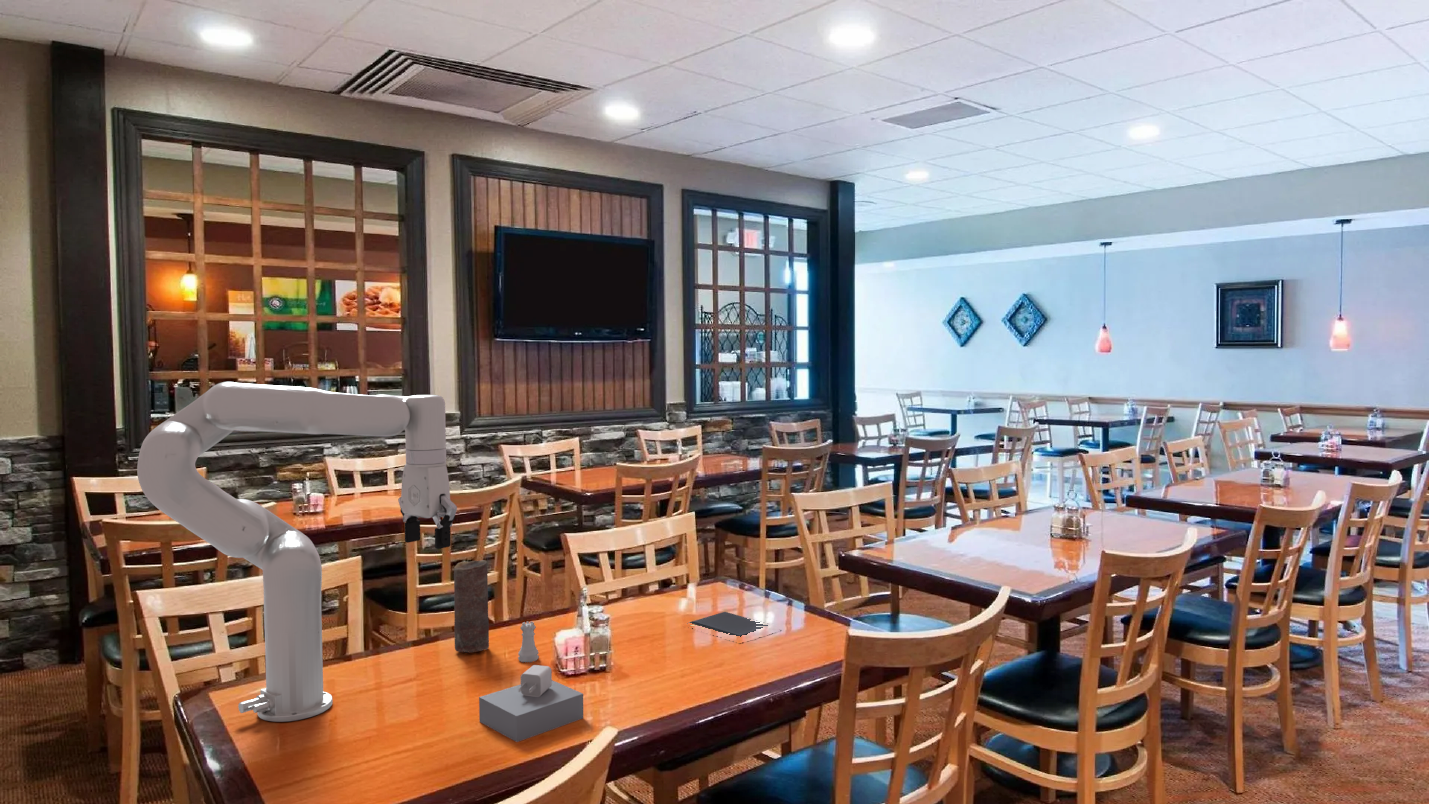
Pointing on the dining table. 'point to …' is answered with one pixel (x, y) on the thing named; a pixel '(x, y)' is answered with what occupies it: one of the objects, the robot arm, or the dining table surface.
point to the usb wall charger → (536, 680)
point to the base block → (530, 710)
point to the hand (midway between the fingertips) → (427, 544)
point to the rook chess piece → (528, 643)
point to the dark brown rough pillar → (471, 606)
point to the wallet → (728, 624)
